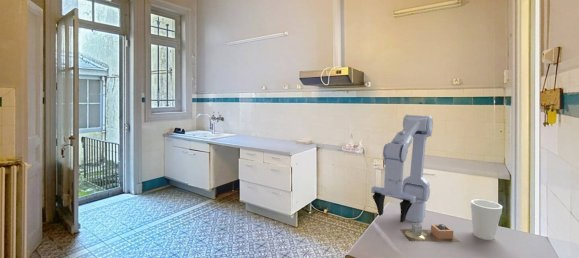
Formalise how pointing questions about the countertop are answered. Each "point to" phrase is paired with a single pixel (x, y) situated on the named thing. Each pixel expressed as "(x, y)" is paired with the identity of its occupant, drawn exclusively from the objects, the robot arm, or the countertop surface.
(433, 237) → the jig board
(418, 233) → the hub
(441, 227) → the stand rod
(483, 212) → the foam cup
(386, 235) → the countertop surface
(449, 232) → the collar
